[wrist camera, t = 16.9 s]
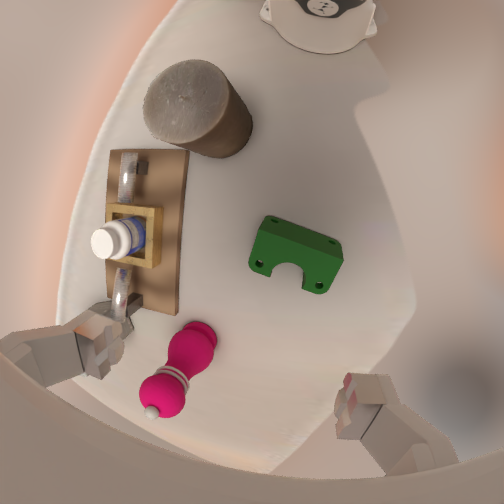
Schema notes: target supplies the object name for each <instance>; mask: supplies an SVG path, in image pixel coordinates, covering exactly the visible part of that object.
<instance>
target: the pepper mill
mask: <svg viewBox="0 0 504 504" xmlns="http://www.w3.org/2000/svg"><path fill="white" fill-rule="evenodd" d="M216 344H217V338H216V335H215V333H214V331H213V330H212V329H211V328H210V327H209V326H208V325H206V324H204V323H201V322H191V323H189V324H187V325H186V326H185V327H184V328H183V330H182V331H179V332H178V333H176V334H175V335H174V336H173V338H172V339H171V341H170V343H169V347H168V361H167V363H166V364H165V366H162V367H160V368H158V369H157V371H156V372H155V373H154V375H153V376H150V377H148V378H147V379H145V380H144V381H143V383H142V385H141V387H140V390H139V397H140V401H141V403H142V405H143V406H144V407H145V411H144V413H145V416H146V417H147V418H148V419H151V420H154V419H157V418H158V417H162V418H170V417H173V416H176V415H177V414H178V413H180V411H181V410H182V409H183V407H184V405H185V395H186V393H187V391H188V390H189V380H190V379H191V378H192V377H193V376H194V375H196V374H198V373H200V372H202V371H203V370H204V369H206V368H207V367H208V366H209V364H210V363H211V361H212V359H213V355H214V351H213V350H214V348H215V346H216Z"/></svg>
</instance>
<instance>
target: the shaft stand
mask: <svg viewBox="0 0 504 504" xmlns="http://www.w3.org/2000/svg"><path fill="white" fill-rule="evenodd" d="M189 153H190V151H188V150H173V149H122V150H110V159H109V168H108V179H107V192H106V213H105V223H107V222H109V221H113V220H118V219H123V218H128V217H132V216H140V217H143V218H144V219H146V220H147V221H146V245H145V248H144V249H142V250H139V251H137V252H135V253H132V254H130V255H128V256H126V257H123V258H121V259H117V260H115V259H111V258H107V259H105V264H106V284H107V298H111V299H112V306H111V315H110V318H111V319H114V320H116V321H119V322H120V323H124V322H125V317H127V318H128V317H130V316H131V315H132V314H133V313H135V312H136V311H137V310H138V309H139V308H141V307H142V308H146V309H149V310H153V311H157V312H161V313H165V314H169V315H173V316H175V315H176V314H177V313H178V299H179V270H180V250H181V234H182V221H183V209H184V198H185V188H186V178H187V169H188V161H189Z"/></svg>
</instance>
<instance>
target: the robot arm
mask: <svg viewBox="0 0 504 504" xmlns="http://www.w3.org/2000/svg"><path fill="white" fill-rule="evenodd" d="M375 8H376V5H375V4H374V3H373V0H266V1H265V3H264V5H263V7H262V9H261V11H260V18H261V20H263V21H264V22H266V23H268V24H270V25H272V26H273V27H274V28H275V29H276V30H277V31H278V33H279V34H280V35H281V36H282V37H283V38H284V39H285V40H286V41H288V42H289V43H291V44H292V45H294V46H296V47H298V48H301V49H303V50H306V51H310V52H315V53H322V54H333V53H340V52H344V51H347V50H349V49H351V48H353V47H354V46H356V45H357V44H358V43H359V42H360V41H361V40H363V39H367V38H371V37H374V36H375V35H376V34H377V27H376V24H375V21H374V18H373V15H374V12H375ZM267 10H269V11H267ZM121 333H122V325H121V323H120V322H119V321H116V320H114V319H111V318H108V317H106V316H103V315H101V314H98V313H96V312H93V311H91V310H86V311H85V312H83V313H82V314H80V315H79V316H77V317H76V318H74V319H73V320H71V321H70V322H68V323H67V324H65V325H64V326H61V325H57V326H52V327H45V328H38V329H32V330H25V331H18V332H12V333H10V334H8V335H7V336H5V337H4V338H2V339H1V340H0V504H504V447H503V448H500V449H498V450H495V451H493V452H490V453H487V454H485V455H482V456H479V457H476V458H473V459H470V460H467V461H463V462H460V463H459V460H458V458H457V456H456V453H455V451H454V448H453V446H452V443H451V441H450V439H449V438H448V437H447V436H446V435H444V434H443V433H442V432H440V431H439V430H438V429H436V428H435V427H434V426H432V425H431V424H430V423H428V422H427V421H426V420H424V419H423V418H422V417H420V416H419V415H418V414H416V413H415V412H414V411H412V410H411V409H410V408H409V407H407V406H406V405H404V404H402V405H401V403H400V401H399V398H398V395H397V393H396V390H395V388H394V385H393V383H392V381H391V378H390V376H389V375H388V374H360V373H347V375H346V376H345V378H344V380H343V383H344V388H342V389H341V390H339V392H338V394H337V397H336V400H335V405H334V414H335V416H336V417H337V418H338V421H337V423H336V432H337V439H347V440H360V442H361V443H362V444H363V446H364V447H365V448H366V449H367V451H368V452H369V453H370V454H371V456H372V457H373V458H374V459H375V460H376V462H377V463H378V464H379V465H380V467H381V468H382V469H383V470H384V472H385V473H386V475H385V476H384V477H378V478H364V479H310V478H295V477H283V476H276V475H268V474H261V473H255V472H249V471H243V470H238V469H233V468H229V467H224V466H220V465H216V464H211V463H208V462H204V461H200V460H197V459H193V458H190V457H187V456H184V455H180V454H177V453H174V452H171V451H169V450H166V449H163V448H160V447H157V446H155V445H152V444H149V443H147V442H144V441H142V440H140V439H137V438H135V437H133V436H130V435H128V434H126V433H124V432H121V431H119V430H117V429H115V428H113V427H111V426H109V425H107V424H105V423H103V422H101V421H99V420H97V419H96V418H94V417H92V416H90V415H88V414H86V413H85V412H83V411H81V410H79V409H78V408H76V407H74V406H73V405H71V404H69V403H68V402H66V401H64V400H63V399H61V398H60V397H58V396H57V395H55V394H54V393H52V392H51V391H49V390H48V389H46V387H48V386H51V385H54V384H56V383H59V382H62V381H64V380H67V379H70V378H72V377H75V376H78V375H80V374H83V373H84V372H85V373H87V374H89V375H91V376H93V377H96V378H98V379H100V380H102V379H103V378H104V377H105V376H106V375H107V374H108V373H109V372H110V371H111V367H110V366H111V365H114V364H117V363H118V362H119V361H120V360H121V358H122V355H123V353H124V342H123V340H122V339H121V337H120V335H121Z"/></svg>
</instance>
